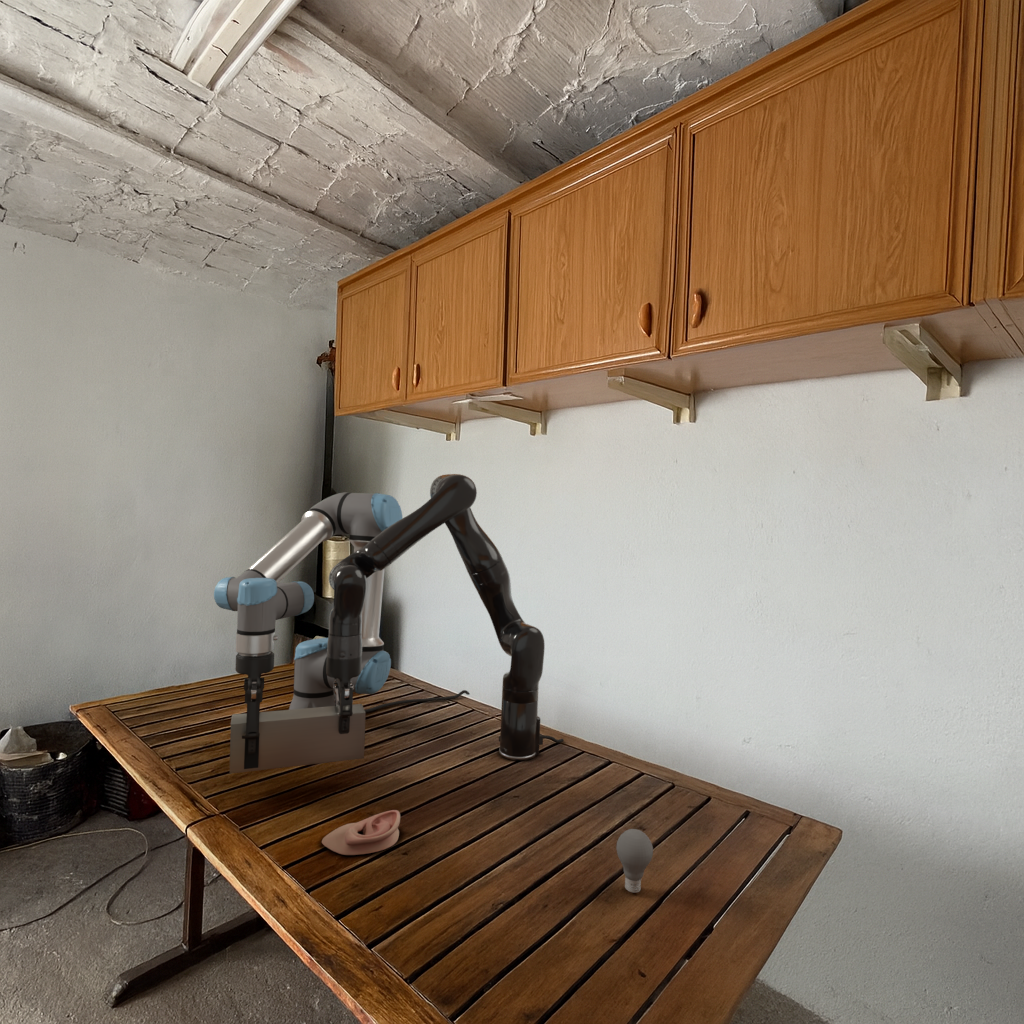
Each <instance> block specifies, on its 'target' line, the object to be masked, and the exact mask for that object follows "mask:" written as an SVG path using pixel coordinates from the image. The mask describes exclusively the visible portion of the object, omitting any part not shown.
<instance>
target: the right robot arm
mask: <svg viewBox="0 0 1024 1024" xmlns="http://www.w3.org/2000/svg"><path fill="white" fill-rule="evenodd" d="M429 489H430V490H429V496H430V499H429V500H427V501H426V502H425V503H423V505H421V506H420V507H419V508H417V509H416V510H414V511H412V512H411V513H410V514H408V515H406V516H404V517H402V518H403V519H401V520H399V521H397V522H395V523H394V524H392V525H391V526H389V527H388V528H386V529H385V530H383V531H382V532H381V533H380V534H378V535H377V536H376V537H375V538H373V539H372V540H371V541H370V542H368V543H367V544H366V545H365V546H364V547H363V548H361V549H359V550H358V551H356V552H354V551H353V553H351V554H349V555H348V556H346V557H345V558H343V559H341V560H340V561H339V562H338V563H336V564H335V565H333V567H332V569H331V570H330V572H329V575H328V583H329V584H328V585H329V586H330V587H331V589H332V590H333V604H332V605H333V606H332V608H331V610H330V613H329V619H328V620H329V621H328V637H327V638H328V643H327V664H326V674H327V676H329V677H331V678H334V682H333V697H334V698H335V699H334V702H335V703H336V704H335V706H337V707H338V708H339V713H338V715H339V734H347V733H349V729H350V716H352V714H353V712H352V705H353V704H354V692H353V690H354V689H353V684H352V681H350V679H351V678H353V677H357V676H359V675H360V674H361V664H362V610H363V606H364V601H365V595H366V579H367V578H368V577H369V576H371V575H372V574H373V573H375V572H377V571H381V570H384V571H385V569H387V568H388V567H389V566H391V565H392V564H393V563H394V562H395V561H397V560H398V559H399V558H401V557H402V556H403V555H404V554H405V553H406V552H407V551H409V550H410V549H411V548H413V546H415V545H416V544H417V543H419V542H420V541H421V540H422V539H424V538H425V537H426V536H428V535H429V534H430V533H432V532H433V531H435V530H437V529H438V528H439V527H441V526H442V525H444V524H445V526H446V528H447V529H448V531H449V533H450V536H451V537H452V540H453V542H454V545H455V547H456V549H457V551H458V554H459V556H460V558H461V560H462V562H463V564H464V567H465V569H466V572H467V574H468V576H469V578H470V580H471V582H472V584H473V586H474V588H475V590H476V592H477V594H478V596H479V598H480V600H481V602H482V604H483V606H484V607H485V609H486V611H487V613H488V615H489V618H490V621H491V623H492V626H493V629H494V632H495V636H496V638H497V640H498V644H499V645H500V648H501V649H502V651H503V653H505V654H506V655H508V656H509V657H511V658H510V667H509V671H507V672H505V673H504V674H503V676H502V687H501V710H500V732H499V733H500V734H499V736H498V743H499V749H498V754H499V755H500V756H501V757H503V758H504V759H507V760H511V761H527V760H531V759H533V758H535V757H537V756H539V755H540V746H543V745H544V739H545V740H551V741H552V742H554V743H556V744H561V743H563V742H564V738H560V739H557V738H555V737H553V736H551V735H545V734H542V733H541V717H540V716H539V715H538V712H539V711H538V710H539V688H540V685H539V684H540V681H541V678H542V676H543V672H544V671H543V670H544V662H545V661H544V660H545V651H546V650H545V649H546V648H545V645H546V644H545V637H544V633H542V631H541V630H540V629H539V628H538V627H537V626H534V625H532V624H530V623H529V624H528V623H526V622H525V620H523V618H522V616H521V614H520V613H519V611H518V609H517V606H516V605H515V602H514V600H513V595H512V594H513V593H512V582H511V576H510V573H509V570H508V567H507V565H506V562H505V560H504V559H503V557H502V554H501V552H500V551H499V549H498V547H497V546H496V544H495V543H494V541H493V540H492V539H491V538H490V537H489V535H488V534H487V533H486V532H485V530H484V529H483V528H482V526H481V525H480V524H479V523H478V521H477V519H476V518H475V515H474V513H473V511H472V508H471V507H473V505H474V504H475V502H476V499H477V497H478V496H477V495H478V489H477V486H476V484H475V482H474V481H473V480H472V479H471V478H470V477H469V476H466V475H464V474H460V473H448V474H446V473H445V474H442V475H439V476H437V477H436V478H435V479H434V480H433V481H432V482H431V485H430V488H429ZM343 706H347V707H348V710H346V711H343Z"/></svg>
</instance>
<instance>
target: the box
mask: <svg viewBox="0 0 1024 1024" xmlns="http://www.w3.org/2000/svg"><path fill="white" fill-rule="evenodd" d="M346 710H348V707H347V706H343V711H346ZM352 712H353V714H352V716H350V729H349V733H347V734H339V715H338V713H339V708H338V707H337V706H329V707H317V708H305V709H293V710H289V709H283V710H271V711H260V714H259V733H260V736H259V759H258V768H251V769H244V756H245V739H242V736H244V735H245V734H246V719H247V712H246V713H234V714H232V715H231V720H230V735H229V737H230V739H229V740H230V742H229V771H228V772H229V774H240V773H248V772H257V771H265V770H274V769H283V768H293V767H299V766H309V765H318V764H326V763H333V762H334V763H336V762H343V761H354V760H361V759H365V744H366V743H365V742H366V741H365V740H366V713H365V708H364V706H363V704H362V703H355V704H354V703H353V704H352Z"/></svg>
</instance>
